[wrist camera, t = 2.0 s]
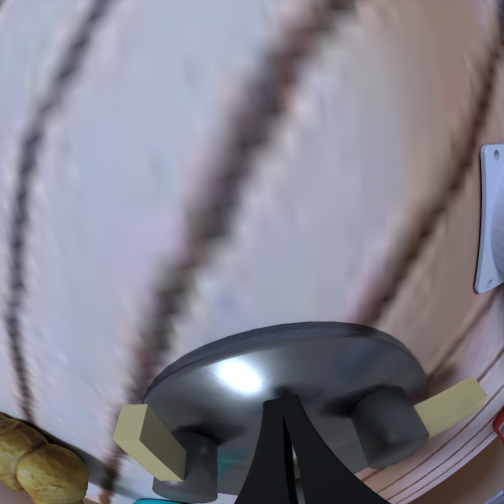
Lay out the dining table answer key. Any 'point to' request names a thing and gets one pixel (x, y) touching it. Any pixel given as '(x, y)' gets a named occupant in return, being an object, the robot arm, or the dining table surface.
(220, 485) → the tribrach plate
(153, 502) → the donuts
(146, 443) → the grey and khaki peg
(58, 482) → the bread roll
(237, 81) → the dining table surface
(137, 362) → the dining table surface
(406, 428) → the knob near arm
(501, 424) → the canned food
